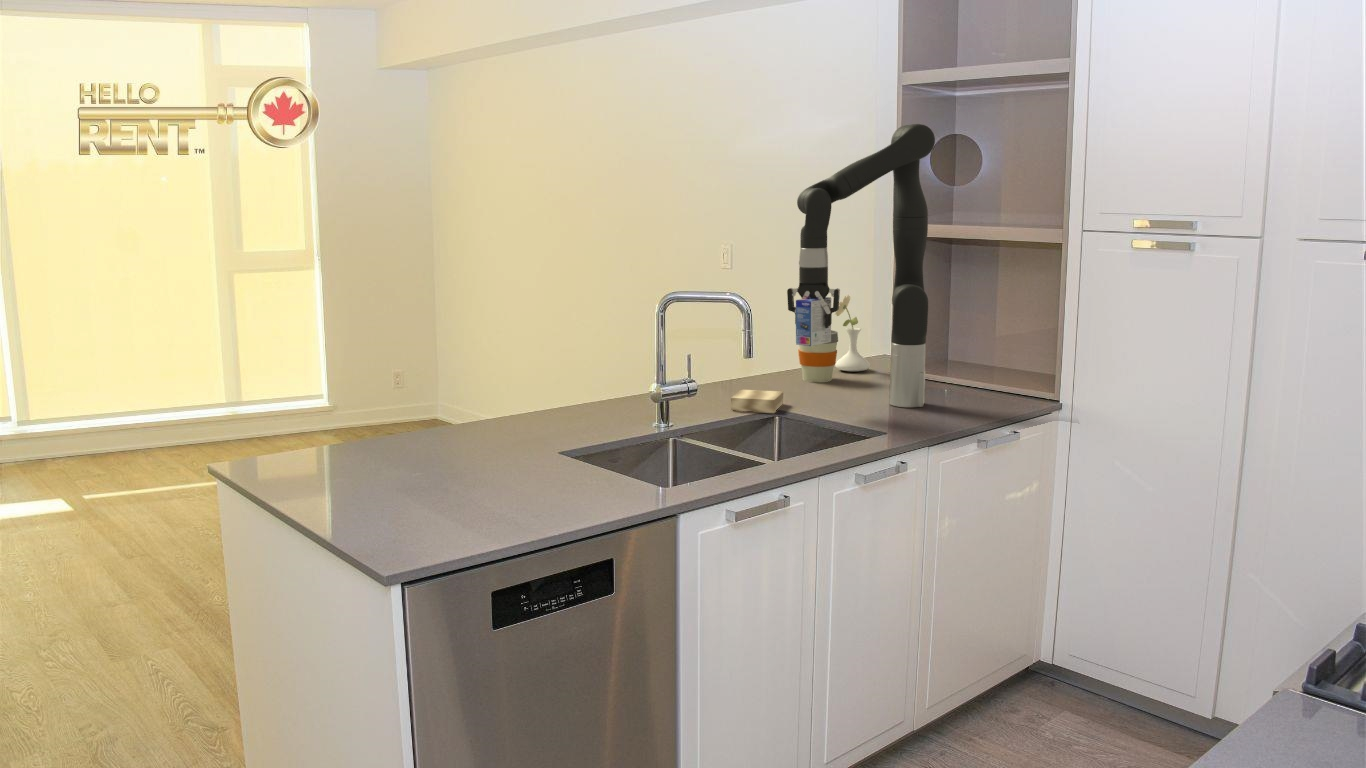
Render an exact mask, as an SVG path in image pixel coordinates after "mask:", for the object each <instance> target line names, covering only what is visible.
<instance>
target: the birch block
mask: <svg viewBox="0 0 1366 768" xmlns="http://www.w3.org/2000/svg"><path fill="white" fill-rule="evenodd" d="M782 404H783V405H784V391H782V390H781V391H779V390H777V391H776V390H761V389H760V390H759V389H756V390H755V389H740V390H739V391H737V392H736V393H735V394H734V395H732V396H731V397H730V411H731V410H736V411H735V412H743V411H755V412H754V413H765V414H776V412H777V411H778V410H779V409H780V408H781V407H782V406H783V405H782ZM781 405H782V406H781ZM780 406H781V407H780ZM779 407H780V408H779ZM778 408H779V409H778ZM777 409H778V410H777ZM776 410H777V411H776Z"/></svg>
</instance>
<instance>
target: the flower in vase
mask: <svg viewBox="0 0 1366 768" xmlns="http://www.w3.org/2000/svg"><path fill="white" fill-rule="evenodd" d="M850 301H851V296H850V295H849V294H848V295H845V296H844V297H843V299H842V301H839V310H838V311H836V312H834V315H836V317H838V316H840V315H841V314H842V313H844V312H845V310H846V312H847V314H848V318H849V319H846V320H845V321H844V322H843V324H842V326H843V327H846V328H845V331H846V332H847V333H848V339H849V348H848V351H847V352H846V353H845V354H844V355H843V356H841V357H840V358H839V359H838V360H836V363H835V365H834V367H835V368H836V369H837V370H840V371H844V372H863V371H866V370H869V369H870V368H871V364H870V362H869V361H868V360H867V359H866V358H865V357H863V355H861V354H860V352H859V351H858V349H857V347H858V346H857V344H858V336H859V334H860V332H861V330H862V328H859V327H854V326H856V325H857V324H859V320H858V318H857V317H858V316H855V317H853V318H852V319H851V314H850V311H849V310H848V306H849V303H850ZM849 324H851V325H850V326H851V327H847V326H848V325H849Z"/></svg>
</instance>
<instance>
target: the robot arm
mask: <svg viewBox="0 0 1366 768" xmlns="http://www.w3.org/2000/svg"><path fill="white" fill-rule="evenodd" d="M890 139H891V141H890V144H888V145H887V146H885V147H884V148H882V149H880V150H878V151H877V152H874V153H872V154H870V155H867V156H866V157H863V158H861V159H858V160H856V161H854V162H852V163H850V164H848V165H847V166H845V167H843V168H842V169H840V170H838V171H837V172H835V173H834V174H832V175H831V176H829V177H828V178H826V179H822V180H821V181H819V182H817V183H813V184H812V185H811V186H808V187H806V188H805V189H803V190H802V191H801V192H800V193H799V195H798V197H797V199H796V201H797V202H796V204H797V208H798V210H799V211H800V213H802V214H804V215H805V221H804V225H803V226H802V227H801V229H800V239H799V240H800V243H799V244H800V248H799V249H800V250H799V261H798V268H799V273H798V275H799V276H798V278H799V279H798V281H799V282H798V286H797V287H796V288H795V287H794V288H793V287H790V288H788V289H787V290H786V296H787V310H788V311H789V312H792V313H794V314H795V315H794V316H795V317H794V319H795V320H794V321H795V322H794V324H795V325H796V306H795V296H796V295H797V294H798V295H799V296H800V299H809V298H808V296H810V298H811V299H812V298H815V299H819V300H820V304H821V305H822V307H823V308H824V310H825V312H826V314H825V328H829V326H831V327H832V324H833V323H832V321H833V319H832V315H833V313H836V312H837V311H838V310H839V306H840V305H839V303H840V295H841V289H840V288H830V287H829V272H828V271H829V255H828V254H829V253H828V229H829V225H830V219H831V214H832V204H833V203H835V202H837V201H841V200H844V199H845V200H846V199H847V198H849V197H851V196H853V195H854V194H855V193H858V192H859V191H861V190H862V189H864V188H865V187H867V186H868V185H870V184H872V183H874V182H875V181H877V180H879V179H880V178H882V177H883V176H885V175H887V174H889V173H890V172H892V174H893V175H892V176H893V191H892V192H893V198H892V199H893V200H892V201H893V202H892V204H893V206H892V242H893V251H894V261H895V268H894V269H895V272H894V283H893V291H892V297H891V304H892V327H891V328H892V329H891V337H890V338H891V343H890V348H891V349H890V372H889V373H890V374H889V375H890V376H889V405H891V406H893V407H898V408H899V407H900V408H923V407H924V404H925V395H926V394H925V391H926V389H925V387H926V346H927V345H926V342H927V334H928V320H929V298H928V295H927V293H926V292H925V284H924V257H925V254H926V247H927V240H928V229H929V228H928V227H929V225H928V224H929V210H928V206H927V201H926V197H925V195H924V191H923V189H922V185H921V181H920V162H921V159H924V158H926V157H927V156H928V155H929V154H930V153H931V152H932V151H933V149H934V147H935V144H936V137H935V134H934V131H933V130H932V129H931V128H930V127H929V126H927V125H925V124H921V123H913V124H906V125H902V126H900V127H898V128H897V129H896V130H895V131H894V132H893V134H892V137H891V138H890ZM829 294H830V296H831V298H833V300H832V301H833V303H832V307H831V308H830V306H829V304H828V302H827V301H826V302H825V301H824V298H825V297H828V295H829Z"/></svg>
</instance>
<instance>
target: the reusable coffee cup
mask: <svg viewBox="0 0 1366 768" xmlns="http://www.w3.org/2000/svg"><path fill="white" fill-rule="evenodd" d="M838 342H839V335H838V331H836V330H833V329H831V342H828V343H823V344H819V345H814V346H803V345H798V347H799V349H798V359H799V360H798V361H799V364H800V365H801V366H800V367H801V374H802V381H804V382H807V381H808V383H828V381H829V382H831V381H832V380H833V372H834V368H835V364H836V362H837V355H838V354H837V353H838V349H837V345H838Z"/></svg>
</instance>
